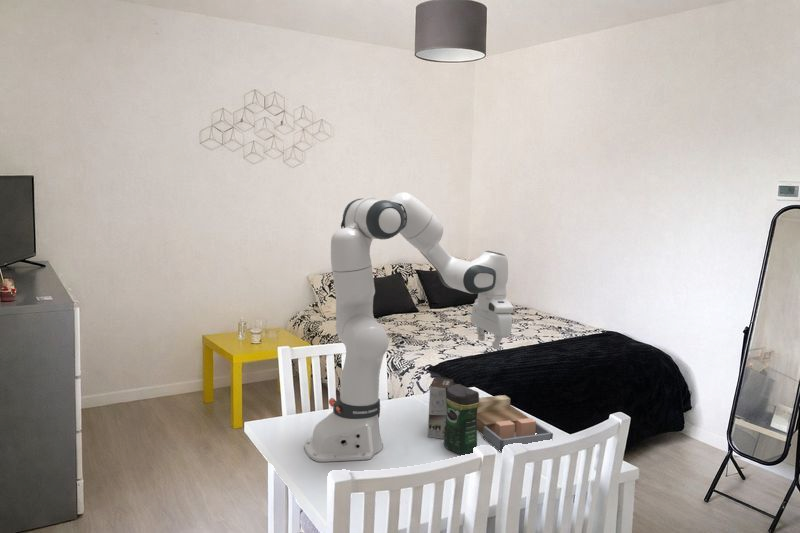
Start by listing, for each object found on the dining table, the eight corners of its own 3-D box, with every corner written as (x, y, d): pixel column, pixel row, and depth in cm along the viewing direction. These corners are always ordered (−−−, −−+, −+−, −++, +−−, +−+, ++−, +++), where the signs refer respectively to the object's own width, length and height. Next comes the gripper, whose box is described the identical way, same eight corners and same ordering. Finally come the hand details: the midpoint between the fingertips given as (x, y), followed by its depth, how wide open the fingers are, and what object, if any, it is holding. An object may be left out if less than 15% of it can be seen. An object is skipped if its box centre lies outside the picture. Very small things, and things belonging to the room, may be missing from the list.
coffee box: (448, 439, 190) (450, 388, 188) (427, 437, 192) (429, 386, 189) (451, 428, 199) (454, 378, 197) (431, 425, 200) (433, 376, 198)
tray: (500, 452, 183) (501, 440, 182) (483, 437, 193) (483, 426, 192) (552, 444, 189) (552, 433, 189) (532, 430, 199) (533, 420, 199)
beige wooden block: (477, 412, 202) (477, 402, 201) (472, 408, 205) (472, 398, 205) (509, 408, 206) (510, 398, 206) (504, 405, 209) (504, 395, 209)
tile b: (515, 435, 194) (520, 439, 191) (516, 419, 193) (521, 423, 191) (529, 433, 196) (535, 437, 193) (530, 417, 195) (536, 421, 192)
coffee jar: (481, 451, 183) (484, 389, 180) (460, 457, 178) (463, 394, 176) (459, 439, 191) (462, 380, 188) (439, 445, 186) (441, 384, 184)
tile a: (494, 437, 192) (499, 441, 189) (495, 422, 191) (500, 425, 188) (508, 435, 193) (514, 439, 191) (509, 420, 193) (515, 424, 190)
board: (485, 436, 193) (485, 424, 193) (462, 418, 207) (463, 407, 206) (529, 430, 199) (530, 418, 198) (505, 413, 213) (506, 402, 212)
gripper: (467, 295, 210) (464, 336, 212) (498, 308, 191) (495, 353, 193) (484, 295, 212) (481, 335, 214) (516, 308, 193) (513, 352, 195)
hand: (488, 344), depth 203 cm, fingers open, 8 cm apart
